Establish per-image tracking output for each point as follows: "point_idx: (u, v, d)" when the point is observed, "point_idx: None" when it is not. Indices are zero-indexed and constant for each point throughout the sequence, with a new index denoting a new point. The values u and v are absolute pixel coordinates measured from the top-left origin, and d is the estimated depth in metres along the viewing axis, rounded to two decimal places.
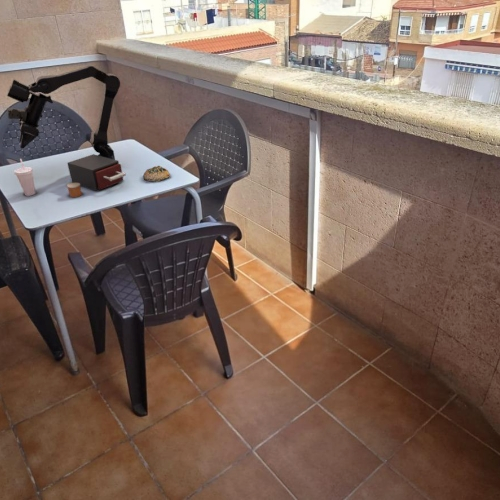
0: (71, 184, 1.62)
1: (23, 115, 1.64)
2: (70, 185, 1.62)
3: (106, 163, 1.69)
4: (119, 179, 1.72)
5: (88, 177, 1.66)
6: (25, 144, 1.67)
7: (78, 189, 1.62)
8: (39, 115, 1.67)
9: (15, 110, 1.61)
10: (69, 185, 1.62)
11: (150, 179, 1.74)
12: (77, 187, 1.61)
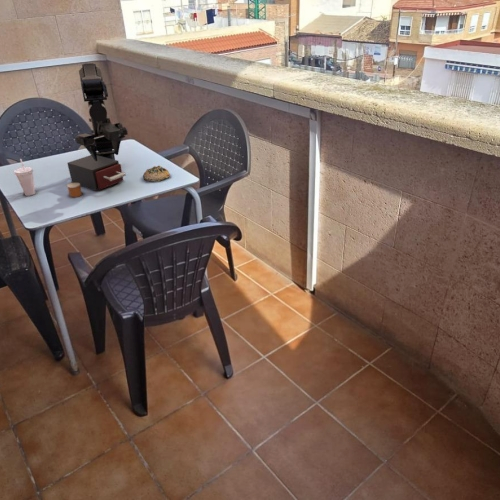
0: (71, 184, 1.62)
1: None
2: (70, 185, 1.62)
3: (106, 163, 1.69)
4: (119, 179, 1.72)
5: (88, 177, 1.66)
6: None
7: (78, 189, 1.62)
8: None
9: None
10: (69, 185, 1.62)
11: (150, 179, 1.74)
12: (77, 187, 1.61)
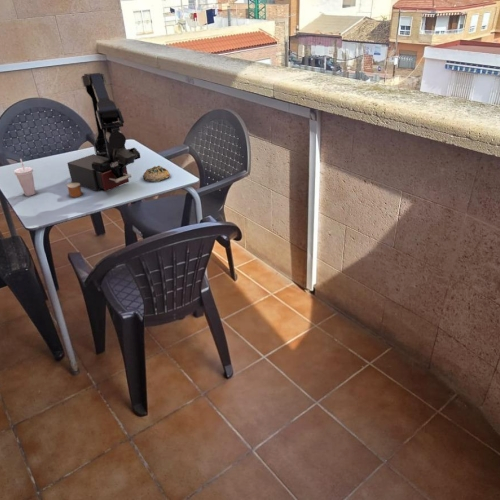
0: (71, 184, 1.62)
1: None
2: (70, 185, 1.62)
3: None
4: (125, 181, 1.71)
5: (88, 177, 1.66)
6: None
7: (78, 189, 1.62)
8: None
9: None
10: (69, 185, 1.62)
11: (150, 179, 1.74)
12: (77, 187, 1.61)
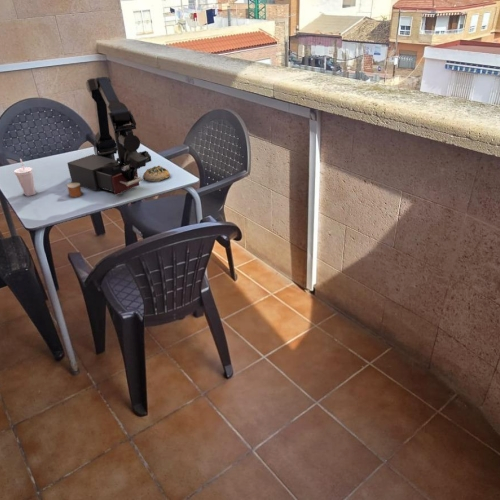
0: (71, 184, 1.62)
1: None
2: (70, 185, 1.62)
3: (106, 163, 1.69)
4: (135, 184, 1.68)
5: (88, 177, 1.66)
6: None
7: (78, 189, 1.62)
8: None
9: None
10: (69, 185, 1.62)
11: (150, 179, 1.74)
12: (77, 187, 1.61)
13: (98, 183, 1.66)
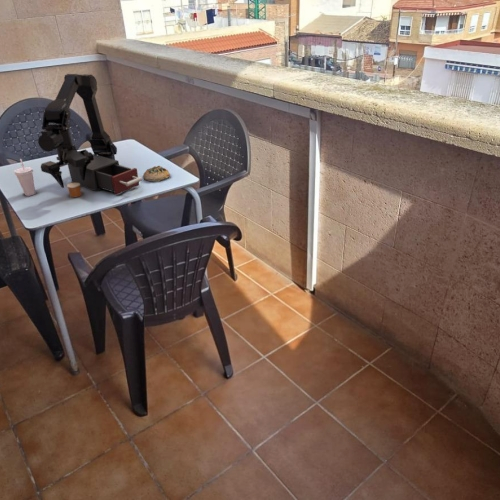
0: (71, 184, 1.62)
1: None
2: (70, 185, 1.62)
3: (106, 163, 1.69)
4: (135, 184, 1.68)
5: (88, 177, 1.66)
6: None
7: (78, 189, 1.62)
8: None
9: None
10: (69, 185, 1.62)
11: (150, 179, 1.74)
12: (77, 187, 1.61)
13: (98, 183, 1.66)
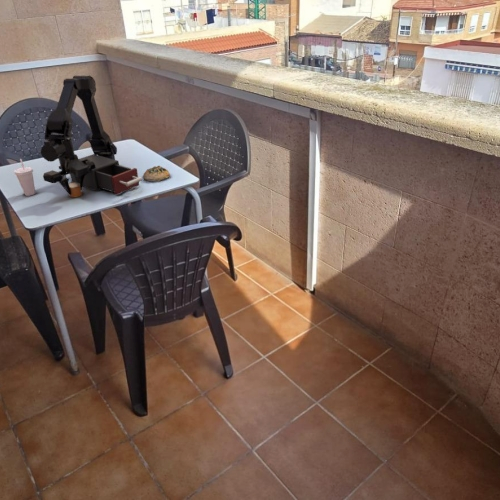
0: (71, 184, 1.62)
1: None
2: (70, 185, 1.62)
3: (106, 163, 1.69)
4: (135, 184, 1.68)
5: (88, 177, 1.66)
6: None
7: (78, 189, 1.62)
8: None
9: None
10: (69, 185, 1.62)
11: (150, 179, 1.74)
12: (77, 187, 1.61)
13: (98, 183, 1.66)
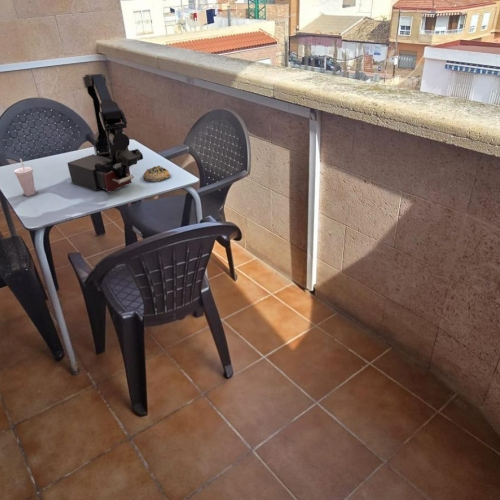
0: None
1: None
2: None
3: None
4: (127, 181, 1.70)
5: (88, 177, 1.66)
6: None
7: None
8: None
9: None
10: None
11: (150, 179, 1.74)
12: None
13: None
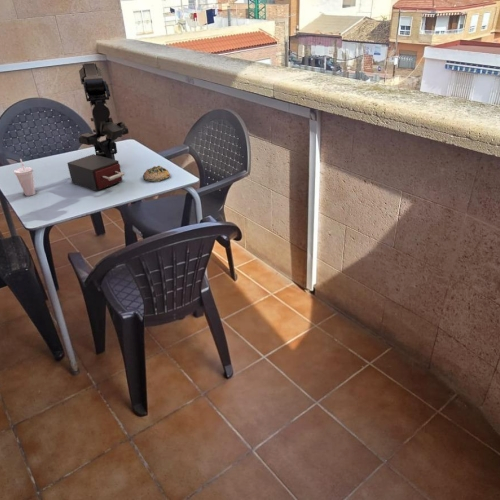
0: None
1: None
2: None
3: (106, 163, 1.69)
4: (118, 179, 1.73)
5: (88, 177, 1.66)
6: None
7: None
8: None
9: None
10: None
11: (150, 179, 1.74)
12: None
13: None
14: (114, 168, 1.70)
